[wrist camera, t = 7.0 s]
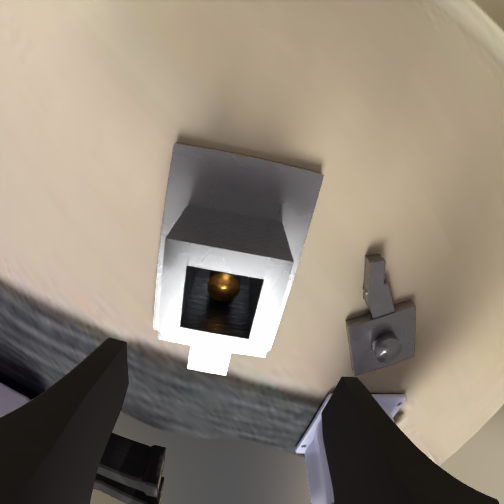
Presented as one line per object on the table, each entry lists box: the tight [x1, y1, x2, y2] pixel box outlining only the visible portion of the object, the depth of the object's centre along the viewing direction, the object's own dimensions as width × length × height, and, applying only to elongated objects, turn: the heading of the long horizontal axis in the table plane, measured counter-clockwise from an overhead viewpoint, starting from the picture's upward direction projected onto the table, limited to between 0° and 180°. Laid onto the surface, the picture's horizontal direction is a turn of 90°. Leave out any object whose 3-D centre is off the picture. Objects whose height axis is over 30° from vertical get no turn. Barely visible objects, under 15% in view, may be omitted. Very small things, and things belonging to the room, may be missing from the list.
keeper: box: [153, 143, 324, 376], centre depth 17 cm, size 12×8×4 cm, turn 168°
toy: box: [0, 382, 166, 504], centre depth 25 cm, size 19×7×30 cm
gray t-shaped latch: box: [345, 254, 415, 376], centre depth 20 cm, size 10×5×2 cm, turn 17°
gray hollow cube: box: [158, 205, 294, 358], centre depth 16 cm, size 5×5×5 cm
